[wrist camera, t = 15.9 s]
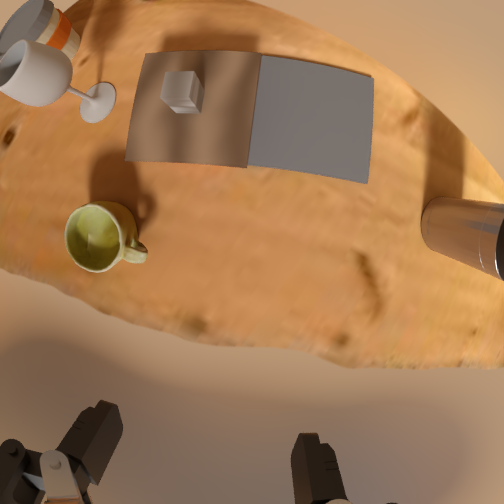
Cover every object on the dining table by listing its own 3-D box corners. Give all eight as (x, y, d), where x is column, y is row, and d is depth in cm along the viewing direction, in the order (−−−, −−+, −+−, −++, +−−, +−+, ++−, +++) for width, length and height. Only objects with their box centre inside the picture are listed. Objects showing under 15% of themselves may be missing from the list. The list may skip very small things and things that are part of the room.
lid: (261, 55, 27) (262, 28, 21) (246, 168, 30) (244, 161, 24) (147, 56, 27) (127, 33, 20) (127, 161, 30) (99, 156, 24)
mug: (70, 246, 37) (47, 249, 27) (102, 191, 38) (87, 179, 29) (130, 286, 41) (122, 301, 31) (162, 232, 42) (163, 231, 32)
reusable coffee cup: (41, 47, 30) (-1, 25, 15) (88, 16, 29) (50, -17, 14) (39, 91, 32) (-13, 74, 18) (88, 59, 32) (39, 27, 17)
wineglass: (124, 101, 34) (38, 51, 13) (90, 133, 35) (-6, 109, 14) (106, 73, 33) (27, 22, 12) (74, 104, 34) (-13, 74, 13)
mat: (371, 80, 33) (373, 78, 32) (365, 183, 36) (367, 183, 36) (261, 57, 32) (262, 55, 32) (247, 164, 36) (247, 164, 35)
